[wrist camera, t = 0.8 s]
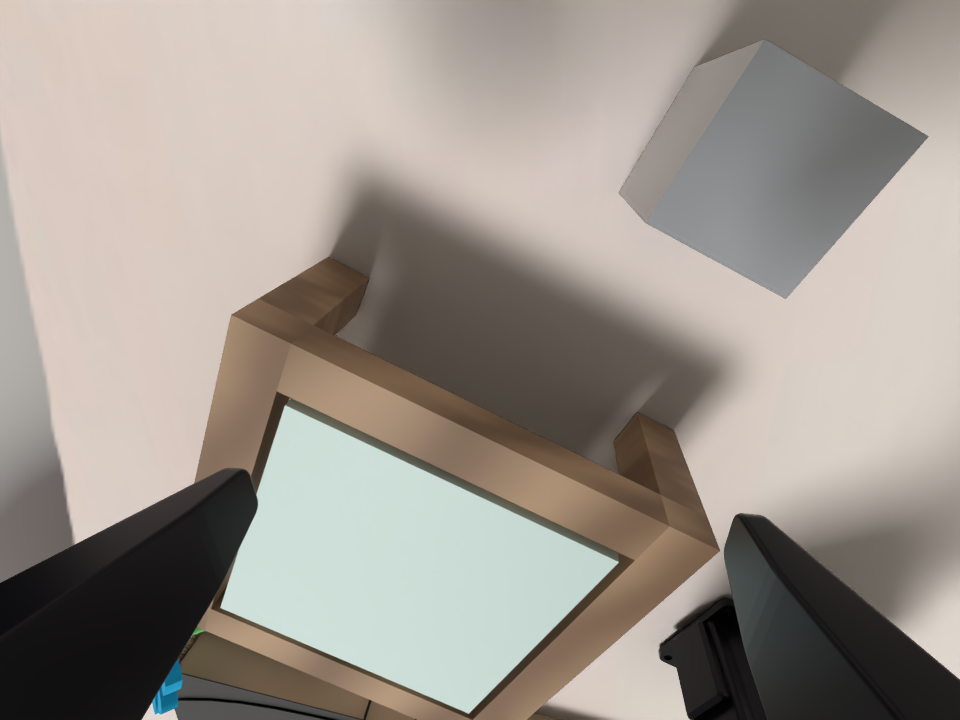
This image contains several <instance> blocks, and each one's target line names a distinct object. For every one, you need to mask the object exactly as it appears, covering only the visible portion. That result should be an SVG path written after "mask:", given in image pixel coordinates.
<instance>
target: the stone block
mask: <svg viewBox="0 0 960 720" xmlns="http://www.w3.org/2000/svg"><path fill="white" fill-rule="evenodd" d="M928 137H929V136H927V135H925V134H924V133H922V132H920V131H919V130H917V129H915V128H914V127H912V126H910V125H909V124H907V123H905V122H904V121H902V120H900V119H899V118H897V117H895V116H894V115H892V114H890V113H889V112H887V111H885V110H884V109H882V108H880V107H878V106H877V105H875V104H873V103H872V102H870V101H868V100H867V99H865V98H863V97H862V96H860V95H858V94H857V93H855V92H853V91H852V90H850V89H848V88H847V87H845V86H843V85H842V84H840V83H838V82H836V81H835V80H833V79H831V78H830V77H828V76H826V75H825V74H823V73H821V72H820V71H818V70H816V69H815V68H813V67H811V66H810V65H808V64H806V63H805V62H803V61H801V60H800V59H798V58H796V57H795V56H793V55H791V54H789V53H788V52H786V51H784V50H783V49H781V48H779V47H778V46H776V45H774V44H773V43H771V42H769V41H768V40H766V39H764V40H761V41H759V42H756V43H754V44H751V45H749V46H746V47H744V48H741V49H739V50H736V51H733V52H731V53H728V54H726V55H723V56H721V57H718V58H716V59H713V60H711V61H708V62H706V63H703V64H701V65H698V66H696V67H694V68H693V70H692V72H691V73H690V75H689V77H688V78H687V80H686V82H685V83H684V85H683V87H682V88H681V90H680V92H679V93H678V95H677V97H676V98H675V100H674V101H673V103H672V105H671V106H670V108H669V110H668V111H667V113H666V115H665V116H664V118H663V120H662V121H661V123H660V125H659V126H658V128H657V130H656V131H655V133H654V135H653V136H652V138H651V140H650V141H649V143H648V145H647V146H646V148H645V150H644V151H643V153H642V155H641V156H640V158H639V160H638V161H637V163H636V165H635V166H634V168H633V170H632V171H631V173H630V175H629V176H628V178H627V180H626V181H625V183H624V185H623V186H622V188H621V190H620V191H619V194H620V195H621V196H622V198H623V199H624V200H625V201H626V202H627V203H628V204H629V205H630V206H631V207H632V209H633V210H634V211H635V212H636V213H637V214H638V215H639V216H640V217H641V219H642V220H643V221H644V222H645V223H647V224H648V225H650V226H652V227H654V228H656V229H658V230H660V231H661V232H663V233H665V234H667V235H669V236H671V237H672V238H674V239H676V240H678V241H680V242H682V243H683V244H685V245H687V246H689V247H691V248H693V249H695V250H696V251H698V252H700V253H702V254H704V255H706V256H707V257H709V258H711V259H713V260H715V261H717V262H719V263H720V264H722V265H724V266H726V267H728V268H730V269H731V270H733V271H735V272H737V273H739V274H741V275H742V276H744V277H746V278H748V279H750V280H752V281H754V282H755V283H757V284H759V285H761V286H763V287H765V288H766V289H768V290H770V291H772V292H774V293H776V294H778V295H779V296H781V297H783V298H785V299H786V298H787V297H788V296H789V295H790V294H791V293H792V291H793V290H794V289H795V288H796V287H797V286H798V285H799V284H800V282H801V281H802V280H803V279H804V278H805V277H806V276H807V274H808V273H809V272H810V271H811V270H812V269H813V268H814V266H815V265H816V264H817V263H818V262H819V261H820V260H821V258H822V257H823V256H824V255H825V254H826V253H827V252H828V251H829V249H830V248H831V247H832V246H833V245H834V244H835V243H836V241H837V240H838V239H839V238H840V237H841V236H842V235H843V233H844V232H845V231H846V230H847V229H848V228H849V227H850V225H851V224H852V223H853V222H854V221H855V220H856V219H857V218H858V216H859V215H860V214H861V213H862V212H863V211H864V210H865V208H866V207H867V206H868V205H869V204H870V203H871V202H872V200H873V199H874V198H875V197H876V196H877V195H878V194H879V192H880V191H881V190H882V189H883V188H884V187H885V186H886V185H887V183H888V182H889V181H890V180H891V179H892V178H893V177H894V175H895V174H896V173H897V172H898V171H899V170H900V169H901V167H902V166H903V165H904V164H905V163H906V162H907V161H908V159H909V158H910V157H911V156H912V155H913V154H914V153H915V152H916V150H917V149H918V148H919V147H920V146H921V145H922V144H923V142H924V141H925V140H926V139H927V138H928Z"/></svg>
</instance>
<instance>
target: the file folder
mask: <svg viewBox="0 0 960 720" xmlns="http://www.w3.org/2000/svg"><path fill="white" fill-rule="evenodd" d="M178 660H179V664H180V667H181V671H182V679H183V681H182V687H181V689H179V690H177V695H178V707H177V708H174V709H175V712H176V715H177V718H178V720H417V719H414V718H412V717H410V716H407V715H405V714H402V713H400V712H398V711H395V710H393V709H391V708H388V707H386V706H383V705H381V704H379V703H376V702H374V701H371V700H369V699H367V698H364V697H362V696H360V695H357V694H355V693H352V692H350V691H348V690H345V689H343V688H341V687H338V686H336V685H333V684H331V683H329V682H326V681H324V680H321V679H319V678H317V677H314V676H312V675H310V674H307V673H305V672H302V671H300V670H298V669H295V668H293V667H291V666H288V665H286V664H283V663H281V662H279V661H276V660H274V659H271V658H269V657H267V656H264V655H262V654H260V653H257V652H255V651H252V650H250V649H248V648H245V647H243V646H241V645H238V644H236V643H233V642H231V641H229V640H226V639H224V638H222V637H219V636H217V635H214V634H212V633H207V632H200V633H198V634H195V635H192V637H191V638H190V639H189V641H188V643H187V644H186V646H185V648H184V649H183V651H182V653H181V654H180V656H179V658H178ZM527 720H559V719H555V718H551V717H547V716H543V715H539V714H535V713H533V714H532V715H531V716H530V717H529V718H528V719H527Z"/></svg>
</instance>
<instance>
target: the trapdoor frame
mask: <svg viewBox="0 0 960 720" xmlns="http://www.w3.org/2000/svg"><path fill="white" fill-rule="evenodd" d="M368 281H369V277H367V276H365V275H363V274H361V273H359V272H357V271H355V270H353V269H351V268H349V267H347V266H345V265H343V264H341V263H339V262H337V261H335V260H333V259H331V258H329V257H328V258H326V259H324V260H323V261H321V262H319V263H318V264H316V265H314V266H313V267H311V268H309V269H307V270H306V271H304V272H302V273H301V274H299V275H297V276H296V277H294V278H292V279H291V280H289V281H287V282H286V283H284V284H282V285H281V286H279V287H277V288H276V289H274V290H272V291H270V292H269V293H267V294H265V295H264V296H262V297H260V298H259V299H257V300H255V301H254V302H252V303H250V304H249V305H247V306H245V307H244V308H242V309H240V310H238V311H237V312H235V313H233V314H232V315H231V318H230V322H229V327H228V332H227V336H226V341H225V345H224V350H223V354H222V359H221V364H220V368H219V373H218V377H217V382H216V387H215V391H214V396H213V400H212V405H211V409H210V414H209V419H208V423H207V428H206V432H205V437H204V441H203V446H202V451H201V455H200V460H199V464H198V469H197V473H196V478H195V483H196V482H198V481H200V480H202V479H204V478H206V477H208V476H210V475H212V474H214V473H216V472H218V471H220V470H222V469H224V468H239V469H245V470H247V471H248V472H249V473H250V476H251V479H252V482H253V485H254V489H255V492H256V494H257V491H258V488H259V485H260V482H261V479H262V476H263V473H264V469H265V466H266V463H267V460H268V457H269V454H270V451H271V448H272V444H273V441H274V438H275V435H276V432H277V429H278V426H279V423H280V419H281V416H282V413H283V410H284V407H285V405H286V404H287V403H288V401H289V398H292V399H294V400H296V401H298V402H300V403H303V404H305V405H307V406H309V407H311V408H313V409H315V410H317V411H320V412H322V413H324V414H326V415H328V416H330V417H332V418H334V419H337V420H339V421H341V422H343V423H345V424H347V425H349V426H351V427H353V428H356V429H358V430H360V431H362V432H364V433H366V434H368V435H370V436H373V437H375V438H377V439H379V440H381V441H383V442H385V443H387V444H390V445H392V446H394V447H396V448H398V449H400V450H402V451H404V452H406V453H409V454H411V455H413V456H415V457H417V458H419V459H421V460H423V461H426V462H428V463H430V464H432V465H434V466H436V467H438V468H440V469H442V470H445V471H447V472H449V473H451V474H453V475H455V476H457V477H459V478H462V479H464V480H466V481H468V482H470V483H472V484H474V485H476V486H479V487H481V488H483V489H485V490H487V491H489V492H491V493H493V494H495V495H498V496H500V497H502V498H504V499H506V500H508V501H510V502H512V503H515V504H517V505H519V506H521V507H523V508H525V509H527V510H529V511H531V512H534V513H536V514H538V515H540V516H542V517H544V518H546V519H548V520H551V521H553V522H555V523H557V524H559V525H561V526H563V527H565V528H568V529H570V530H572V531H574V532H576V533H578V534H580V535H582V536H584V537H587V538H589V539H591V540H593V541H595V542H597V543H599V544H601V545H604V546H606V547H608V548H610V549H612V550H614V551H616V552H618V558H619V563H618V564H617V565H616V566H615V567H614V568H613V569H612V570H611V571H610V572H609V573H608V574H607V575H606V576H605V577H604V578H603V579H602V580H601V581H600V582H599V583H598V584H597V585H596V586H595V587H594V588H593V589H592V590H591V591H590V592H589V593H588V594H587V595H586V596H585V597H584V598H583V599H582V600H581V601H580V602H579V603H578V604H577V605H576V606H575V607H574V608H573V609H572V610H571V611H570V612H569V613H568V614H567V615H566V616H565V617H564V618H563V619H562V620H561V621H560V622H559V623H558V624H557V625H556V626H555V627H554V628H553V629H552V630H551V631H550V632H549V633H548V634H547V635H546V636H545V637H544V638H543V639H542V640H541V641H540V642H539V643H538V644H537V645H536V646H535V647H534V648H533V649H532V650H531V651H530V652H529V653H528V654H527V655H526V656H525V657H524V658H523V660H522V661H521V662H520V663H519V664H518V665H517V666H516V667H515V668H514V669H513V670H512V671H511V672H510V673H509V674H508V675H507V676H506V677H505V678H504V679H503V680H502V681H501V682H500V683H499V684H498V685H497V686H496V687H495V688H494V689H493V690H492V691H491V692H490V693H489V694H488V695H487V696H486V697H485V698H484V699H483V700H482V701H481V702H480V703H479V704H478V705H477V706H476V707H475V708H474V709H473V710H472V711H471V712H470V713H469V714H468V713H466V712H464V711H461V710H459V709H457V708H454V707H452V706H450V705H447V704H445V703H443V702H440V701H438V700H436V699H433V698H431V697H429V696H426V695H424V694H421V693H419V692H417V691H414V690H412V689H410V688H407V687H405V686H403V685H400V684H398V683H396V682H393V681H391V680H389V679H386V678H384V677H382V676H379V675H377V674H374V673H372V672H370V671H367V670H365V669H363V668H360V667H358V666H356V665H353V664H351V663H349V662H346V661H344V660H342V659H339V658H337V657H335V656H332V655H330V654H327V653H325V652H323V651H320V650H318V649H316V648H313V647H311V646H309V645H306V644H304V643H302V642H299V641H297V640H295V639H292V638H290V637H288V636H285V635H283V634H280V633H278V632H276V631H273V630H271V629H269V628H266V627H264V626H262V625H259V624H257V623H255V622H252V621H250V620H248V619H245V618H243V617H241V616H238V615H236V614H234V613H231V612H229V611H226V610H224V609H222V608H220V607H221V604H222V601H223V598H224V595H225V591H226V588H227V585H228V582H229V579H230V576H231V573H232V570H233V566H234V563H235V560H236V557H237V554H238V552H237V554H236V557H235V559H234V561H233V563H232V565H231V567H230V569H229V571H228V573H227V575H226V577H225V579H224V581H223V583H222V585H221V587H220V589H219V590H218V592H217V594H216V596H215V597H214V599H213V601H212V603H211V604H210V606H209V608H208V609H207V611H206V613H205V614H204V616H203V618H202V619H201V621H200V623H199V624H198V626H197V627H198V628H200V629H202V630H205V631H207V632H210V633H212V634H214V635H217V636H219V637H222V638H224V639H226V640H229V641H231V642H233V643H236V644H238V645H241V646H243V647H245V648H248V649H250V650H252V651H255V652H257V653H260V654H262V655H264V656H267V657H269V658H271V659H274V660H276V661H279V662H281V663H283V664H286V665H288V666H291V667H293V668H295V669H298V670H300V671H302V672H305V673H307V674H310V675H312V676H314V677H317V678H319V679H321V680H324V681H326V682H329V683H331V684H333V685H336V686H338V687H341V688H343V689H345V690H348V691H350V692H352V693H355V694H357V695H360V696H362V697H364V698H367V699H369V700H371V701H374V702H376V703H379V704H381V705H383V706H386V707H388V708H391V709H393V710H395V711H398V712H400V713H402V714H405V715H407V716H410V717H412V718H414V719H417V720H527V719H528V718H529V717H530V716H531V715H532V714H533V713H535V712H536V711H537V710H538V709H539V708H540V707H541V706H543V705H544V704H545V703H546V702H547V701H548V700H549V699H551V698H552V697H553V696H554V695H555V694H556V693H557V692H559V691H560V690H561V689H562V688H563V687H564V686H565V685H567V684H568V683H569V682H570V681H571V680H572V679H574V678H575V677H576V676H577V675H578V674H579V673H580V672H582V671H583V670H584V669H585V668H586V667H587V666H588V665H590V664H591V663H592V662H593V661H594V660H595V659H596V658H598V657H599V656H600V655H601V654H602V653H603V652H604V651H606V650H607V649H608V648H609V647H610V646H611V645H612V644H614V643H615V642H616V641H617V640H618V639H619V638H621V637H622V636H623V635H624V634H625V633H626V632H627V631H629V630H630V629H631V628H632V627H633V626H634V625H635V624H637V623H638V622H639V621H640V620H641V619H642V618H643V617H645V616H646V615H647V614H648V613H649V612H650V611H651V610H653V609H654V608H655V607H656V606H657V605H658V604H660V603H661V602H662V601H663V600H664V599H665V598H666V597H668V596H669V595H670V594H671V593H672V592H673V591H674V590H676V589H677V588H678V587H679V586H680V585H681V584H682V583H684V582H685V581H686V580H687V579H688V578H689V577H690V576H692V575H693V574H694V573H695V572H696V571H697V570H698V569H700V568H701V567H702V566H703V565H704V564H705V563H707V562H708V561H709V560H710V559H711V558H712V557H713V556H715V555H716V554H717V553H718V552H719V551H720V549H719V547H718V544H717V541H716V539H715V536H714V534H713V531H712V528H711V526H710V523H709V521H708V518H707V515H706V513H705V510H704V508H703V505H702V502H701V500H700V497H699V495H698V492H697V490H696V487H695V484H694V482H693V479H692V477H691V474H690V471H689V469H688V466H687V464H686V461H685V458H684V456H683V453H682V451H681V448H680V445H679V443H678V440H677V438H676V435H675V432H674V430H672V429H670V428H668V427H666V426H664V425H662V424H660V423H658V422H656V421H654V420H652V419H650V418H648V417H646V416H644V415H642V414H640V413H638V412H637V413H636V415H635V416H634V417H633V418H632V419H631V421H630V422H629V423H628V424H627V426H626V427H625V428H624V429H623V431H622V432H621V433H620V434H619V436H618V437H617V438H616V439H615V440H614V448H615V453H616V459H617V464H618V469H619V474H617V473H615V472H613V471H611V470H609V469H607V468H604V467H602V466H600V465H598V464H596V463H594V462H592V461H590V460H588V459H586V458H584V457H582V456H580V455H578V454H576V453H574V452H572V451H570V450H568V449H566V448H564V447H561V446H559V445H557V444H555V443H553V442H551V441H549V440H547V439H545V438H543V437H541V436H539V435H537V434H535V433H533V432H531V431H529V430H527V429H525V428H523V427H520V426H518V425H516V424H514V423H512V422H510V421H508V420H506V419H504V418H502V417H500V416H498V415H496V414H494V413H492V412H490V411H488V410H486V409H484V408H482V407H479V406H477V405H475V404H473V403H471V402H469V401H467V400H465V399H463V398H461V397H459V396H457V395H455V394H453V393H451V392H449V391H447V390H445V389H443V388H441V387H438V386H436V385H434V384H432V383H430V382H428V381H426V380H424V379H422V378H420V377H418V376H416V375H414V374H412V373H410V372H408V371H406V370H404V369H402V368H400V367H398V366H395V365H393V364H391V363H389V362H387V361H385V360H383V359H381V358H379V357H377V356H375V355H373V354H371V353H369V352H367V351H365V350H363V349H361V348H359V347H357V346H354V345H352V344H350V343H348V342H346V341H344V340H342V339H340V338H338V337H336V336H334V335H335V334H336V333H337V332H339V331H340V330H341V329H342V328H343V327H344V326H345V325H346V324H347V323H348V322H349V321H350V320H351V319H352V318H353V317H354V316H355V315H356V313H357V311H358V308H359V305H360V303H361V300H362V297H363V294H364V292H365V289H366V286H367V284H368ZM238 551H239V550H238Z"/></svg>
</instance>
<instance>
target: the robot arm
mask: <svg viewBox="0 0 960 720" xmlns="http://www.w3.org/2000/svg"><path fill="white" fill-rule="evenodd" d="M257 509H258V498H257V495H256V492H255V489H254V485H253V482H252V479H251V476H250V473H249V472H248V471H247V470H245V469H239V468H224V469H222V470H220V471H218V472H216V473H214V474H212V475H210V476H208V477H206V478H204V479H202V480H200V481H198V482H196V483H194V484H192V485H191V486H189V487H187V488H185V489H183V490H181V491H179V492H177V493H175V494H173V495H171V496H169V497H167V498H165V499H163V500H161V501H159V502H157V503H155V504H153V505H151V506H150V507H148V508H146V509H144V510H142V511H140V512H138V513H136V514H134V515H132V516H130V517H128V518H126V519H124V520H122V521H120V522H118V523H116V524H114V525H112V526H110V527H108V528H107V529H105V530H103V531H101V532H99V533H97V534H95V535H93V536H91V537H89V538H87V539H85V540H83V541H81V542H79V543H77V544H75V545H73V546H71V547H69V548H68V549H65V550H64V551H62V552H60V553H58V554H56V555H54V556H52V557H50V558H48V559H46V560H44V561H42V562H40V563H38V564H36V565H34V566H32V567H30V568H29V569H26V570H25V571H22V572H21V573H19V574H17V575H15V576H13V577H11V578H9V579H7V580H5V581H3V582H1V583H0V720H142V718H143V716H144V715H145V713H146V711H147V710H148V708H149V706H150V705H151V703H152V701H153V700H154V698H155V696H156V695H157V693H158V691H159V690H160V688H161V686H162V685H163V683H164V681H165V680H166V678H167V676H168V675H169V673H170V671H171V670H172V668H173V666H174V665H175V663H176V661H177V660H178V658H179V656H180V654H181V653H182V651H183V649H184V648H185V646H186V644H187V643H188V641H189V639H190V638H191V636H192V634H193V633H194V631H195V629H196V628H197V626H198V624H199V623H200V621H201V619H202V618H203V616H204V614H205V613H206V611H207V609H208V608H209V606H210V604H211V603H212V601H213V599H214V597H215V596H216V594H217V592H218V590H219V589H220V587H221V585H222V583H223V581H224V579H225V577H226V575H227V573H228V571H229V569H230V567H231V565H232V563H233V561H234V559H235V557H236V554H237V552H238V550H239V548H240V546H241V544H242V542H243V540H244V538H245V536H246V534H247V531H248V529H249V527H250V525H251V523H252V521H253V519H254V517H255V515H256V512H257ZM724 559H725V564H726V569H727V573H728V578H729V582H730V587H731V591H732V596H733V600H731V599H722V600H720V601H718V602H717V603H716V604H715V605H713V606H712V607H711V608H710V609H708V610H707V611H706V612H705V613H703V614H702V615H701V616H700V617H698V618H697V619H696V620H695V621H693V622H692V623H691V624H690V625H688V626H687V627H686V628H685V629H683V630H682V631H681V632H680V633H678V634H677V635H676V636H675V637H673V638H672V639H671V640H669V641H668V642H667V643H666V644H664V645H663V646H662V647H661V648H660V649H659V657H660V659H661V660H662V661H663V662H665V663H667V664H670V665H672V666H674V667H676V668H677V671H678V676H679V680H680V685H681V689H682V694H683V698H684V703H685V707H686V712H687V715H688V718H689V719H690V720H960V679H959V678H957V677H956V676H955V675H954V674H953V673H951V672H950V671H949V670H948V669H947V668H945V667H944V666H943V665H942V664H941V663H939V662H938V661H937V660H936V659H935V658H933V657H932V656H931V655H930V654H929V653H927V652H926V651H925V650H924V649H923V648H921V647H920V646H919V645H918V644H917V643H915V642H914V641H913V640H912V639H911V638H909V637H908V636H907V635H906V634H905V633H904V632H902V631H901V630H900V629H899V628H898V627H896V626H895V625H894V624H893V623H892V622H890V621H889V620H888V619H887V618H886V617H884V616H883V615H882V614H881V613H880V612H878V611H877V610H876V609H875V608H874V607H872V606H871V605H870V604H869V603H868V602H866V601H865V600H864V599H863V598H862V597H860V596H859V595H858V594H857V593H856V592H854V591H853V590H852V589H851V588H850V587H849V586H847V585H846V584H845V583H844V582H843V581H841V580H840V579H839V578H838V577H837V576H835V575H834V574H833V573H832V572H831V571H829V570H828V569H827V568H826V567H825V566H823V565H822V564H821V563H820V562H819V561H817V560H816V559H815V558H814V557H813V556H811V555H810V554H809V553H808V552H807V551H805V550H804V549H803V548H802V547H801V546H799V545H798V544H797V543H796V542H795V541H794V540H792V539H791V538H790V537H789V536H788V535H786V534H785V533H784V532H783V531H782V530H780V529H779V528H778V527H777V526H776V525H774V524H773V523H772V522H771V521H770V520H768V519H767V518H766V517H764V516H761V515H754V514H743V513H740V514H737V515H736V516H735V517H734V519H733V522H732V525H731V528H730V531H729V534H728V538H727V541H726V544H725V548H724Z"/></svg>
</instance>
